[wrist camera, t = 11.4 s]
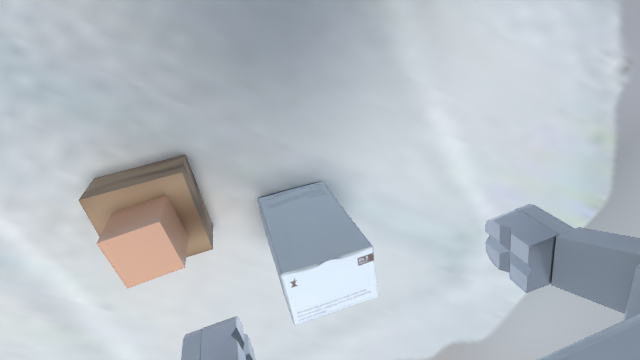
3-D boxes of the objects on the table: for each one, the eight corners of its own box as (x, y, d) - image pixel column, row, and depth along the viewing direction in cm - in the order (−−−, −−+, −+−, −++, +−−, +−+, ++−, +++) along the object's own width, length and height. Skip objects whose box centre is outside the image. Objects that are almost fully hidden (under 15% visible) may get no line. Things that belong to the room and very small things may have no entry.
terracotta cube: (112, 212, 33) (96, 243, 28) (166, 194, 33) (159, 221, 29) (138, 254, 35) (127, 288, 31) (188, 236, 36) (184, 267, 31)
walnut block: (95, 177, 36) (78, 200, 31) (185, 153, 37) (181, 172, 33) (132, 248, 40) (122, 276, 36) (212, 224, 41) (212, 249, 37)
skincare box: (266, 237, 44) (289, 331, 31) (256, 194, 41) (275, 277, 28) (332, 219, 45) (380, 302, 32) (325, 176, 42) (375, 248, 29)
